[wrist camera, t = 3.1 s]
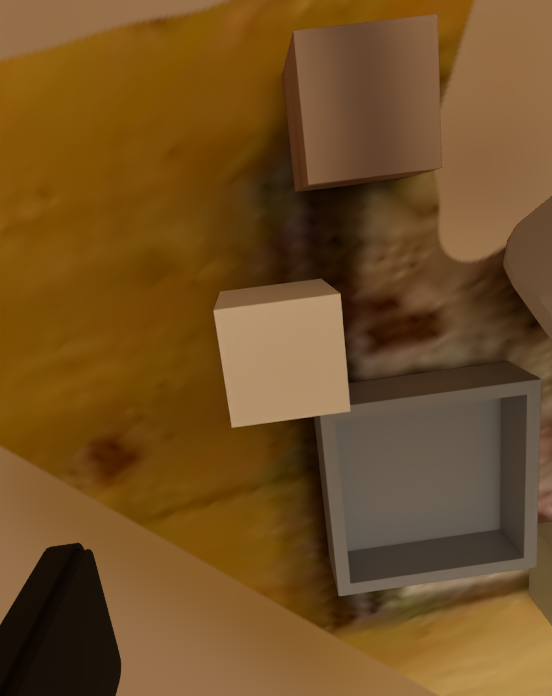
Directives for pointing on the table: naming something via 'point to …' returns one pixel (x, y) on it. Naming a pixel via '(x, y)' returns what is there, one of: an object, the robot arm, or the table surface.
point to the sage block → (542, 571)
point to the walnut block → (363, 102)
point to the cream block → (282, 352)
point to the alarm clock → (533, 263)
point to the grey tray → (432, 477)
